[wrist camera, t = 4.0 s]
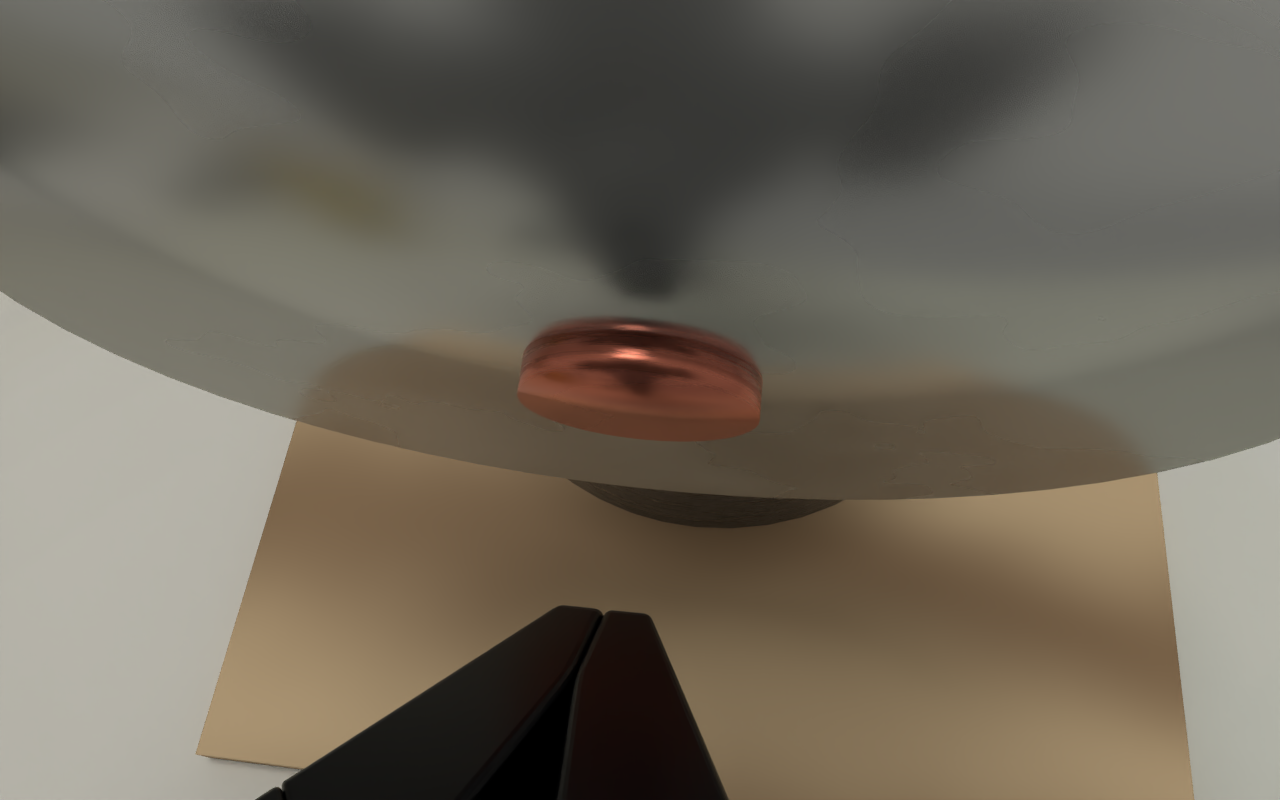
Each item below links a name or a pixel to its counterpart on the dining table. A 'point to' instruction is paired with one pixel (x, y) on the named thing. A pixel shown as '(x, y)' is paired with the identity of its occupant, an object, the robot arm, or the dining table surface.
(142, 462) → the dining table surface
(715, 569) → the board
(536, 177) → the lid
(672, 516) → the cooker
